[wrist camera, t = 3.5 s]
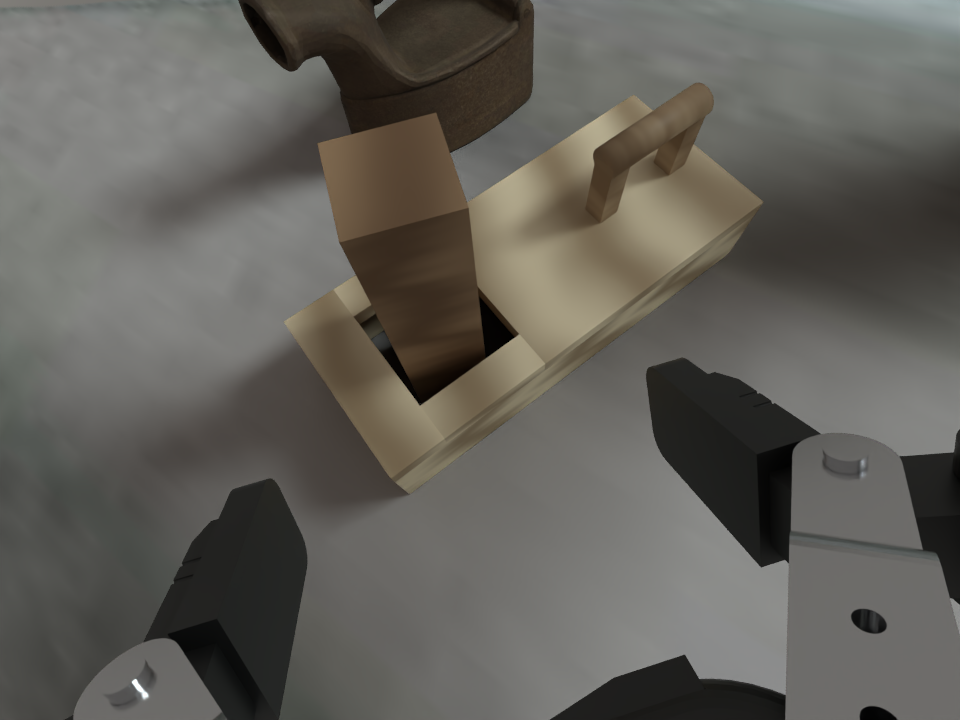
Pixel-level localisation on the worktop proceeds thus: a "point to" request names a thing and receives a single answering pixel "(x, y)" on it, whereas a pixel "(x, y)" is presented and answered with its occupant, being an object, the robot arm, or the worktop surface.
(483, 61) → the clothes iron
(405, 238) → the walnut key
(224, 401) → the worktop surface
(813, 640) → the robot arm
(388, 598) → the worktop surface
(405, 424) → the pine toolbox
